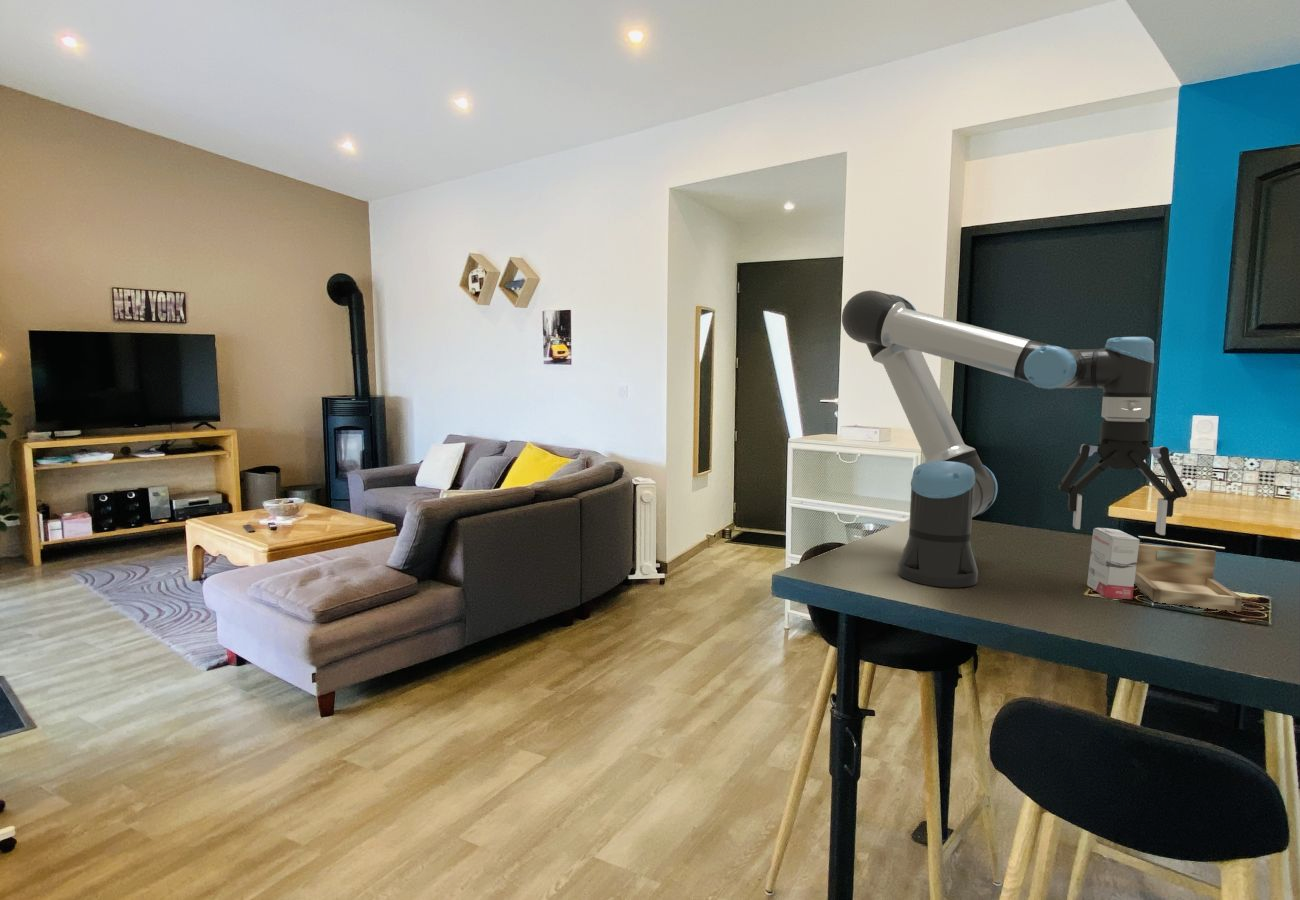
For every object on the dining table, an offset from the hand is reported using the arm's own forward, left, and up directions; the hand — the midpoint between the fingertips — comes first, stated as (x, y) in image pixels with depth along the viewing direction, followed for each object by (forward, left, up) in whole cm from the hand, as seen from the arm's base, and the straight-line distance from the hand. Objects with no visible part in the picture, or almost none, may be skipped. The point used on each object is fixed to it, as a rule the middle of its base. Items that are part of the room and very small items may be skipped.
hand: (1117, 530), depth 130 cm
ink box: (0, 0, -12) cm, 12 cm away
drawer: (+12, +3, -12) cm, 17 cm away
